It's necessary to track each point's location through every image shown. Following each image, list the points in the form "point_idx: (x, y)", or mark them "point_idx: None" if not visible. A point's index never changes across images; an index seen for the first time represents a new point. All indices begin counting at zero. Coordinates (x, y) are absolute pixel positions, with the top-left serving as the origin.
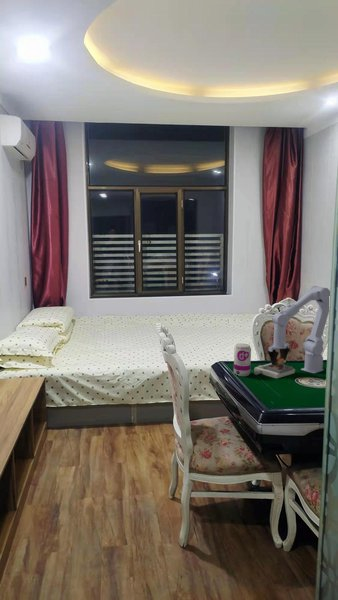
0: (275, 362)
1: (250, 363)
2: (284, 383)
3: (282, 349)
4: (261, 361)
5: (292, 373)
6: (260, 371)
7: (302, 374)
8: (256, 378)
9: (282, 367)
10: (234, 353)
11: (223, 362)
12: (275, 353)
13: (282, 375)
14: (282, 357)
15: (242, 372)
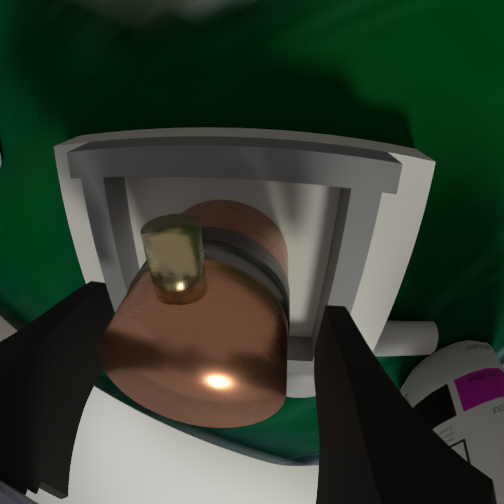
0: (354, 332)
1: (465, 417)
2: (476, 27)
3: (32, 470)
4: (131, 402)
5: (110, 132)
6: (394, 333)
7: (58, 64)
8: (493, 277)
9: (213, 219)
10: None
11: (309, 463)
12: (493, 496)
13: (309, 134)
14: (101, 357)
15: (500, 364)
